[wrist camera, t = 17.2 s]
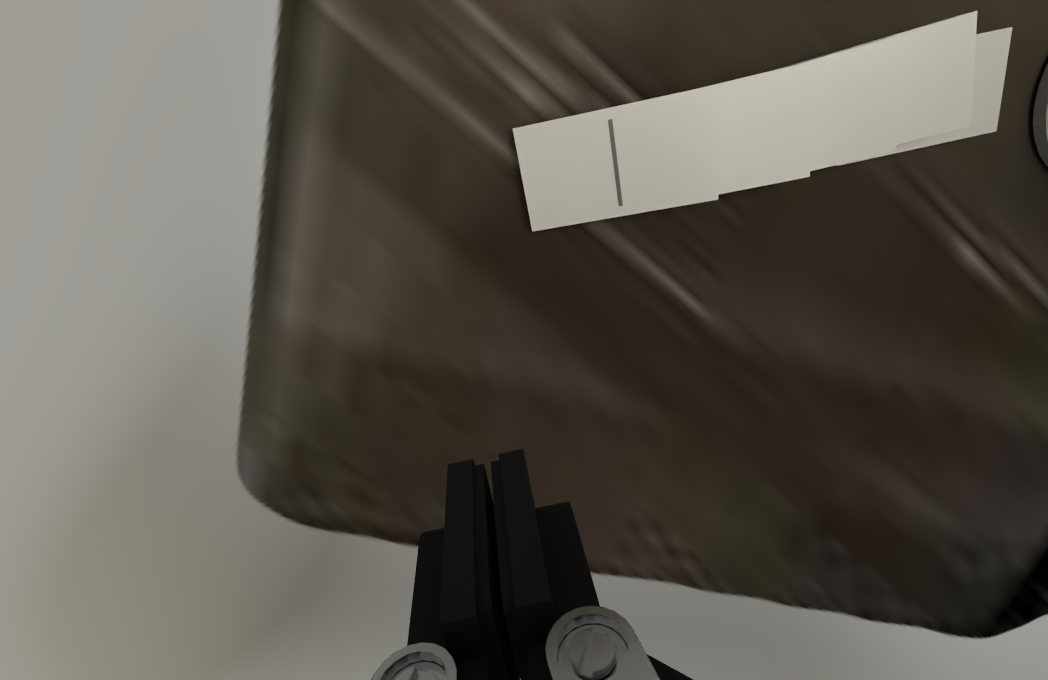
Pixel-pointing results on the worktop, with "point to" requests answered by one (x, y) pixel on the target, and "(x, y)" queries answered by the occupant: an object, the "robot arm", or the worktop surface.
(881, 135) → the domino
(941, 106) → the domino
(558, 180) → the domino
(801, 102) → the domino
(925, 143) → the domino
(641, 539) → the worktop surface
